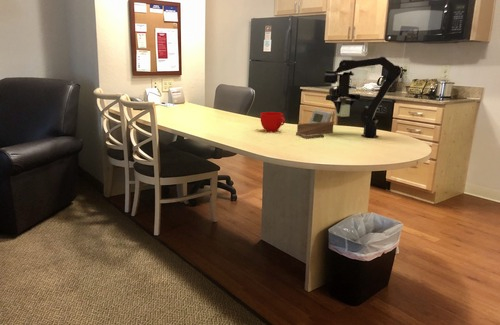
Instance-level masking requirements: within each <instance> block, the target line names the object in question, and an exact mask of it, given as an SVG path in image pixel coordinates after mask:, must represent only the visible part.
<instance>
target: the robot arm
mask: <svg viewBox="0 0 500 325" xmlns="http://www.w3.org/2000/svg"><path fill="white" fill-rule="evenodd" d="M378 65H381V66H382V68H384V69H385V70H386V71H387V72H388V73H387V75H386V77H385V81H384V82H383V84H382V86H381V87H380V89H379V91H378V92H377V93H376V95H375V97H374V99H373V100H372V101H371V103H370V105H369V106H368V105H366V106H365V107H364V109H363V111H362V112H360V118H361V122H363V124H364V125H363V126H364V127H363V134H360V135H361V136H362V137H365V138H379V135H377V130H378V126H377V123H378V122H379V120H378V119H377V118H376V117H375V115H376V113H377V109H378V107H379V105H380V104H381V103H382V101H383V99H384V98H385V96H386V94H387V92H388V91H389V89H390V88H391V87H392V85H393V84H394V82H395V81H396V80H397V79H398V78H399V77H400V76H401V75H402V73H403V69H402V66H400V65H396V64H395V63H393V62H391V61H390V60H389V59H387V57H386V56H380V57H372V58H366V59H364V58H363V59H342V60H340V62H339V64H338V67H337V69H336V70H325V75H324V79H323V81H324V84H330V85H331V84H333V85H336V84H337V83H338V85H336V89H335V88H334V87H330V88H329V92H328V93H329V94H326V96H325V101H330V102H331V103H333V104H334V106H335V107H334V108H336V111H337V114H339V112H340V106H341V103H342V101H341V100H344V103H345V104H348V105H350V108H351V107H352V106H353V104H354V102H356V101H360V100H361V95H360V94H359V93H350V89H352V86H351V84H350V83H351V76H355V73H354V72H353V71H352V70H354V69H357V68H364V67H370V66H378Z"/></svg>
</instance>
